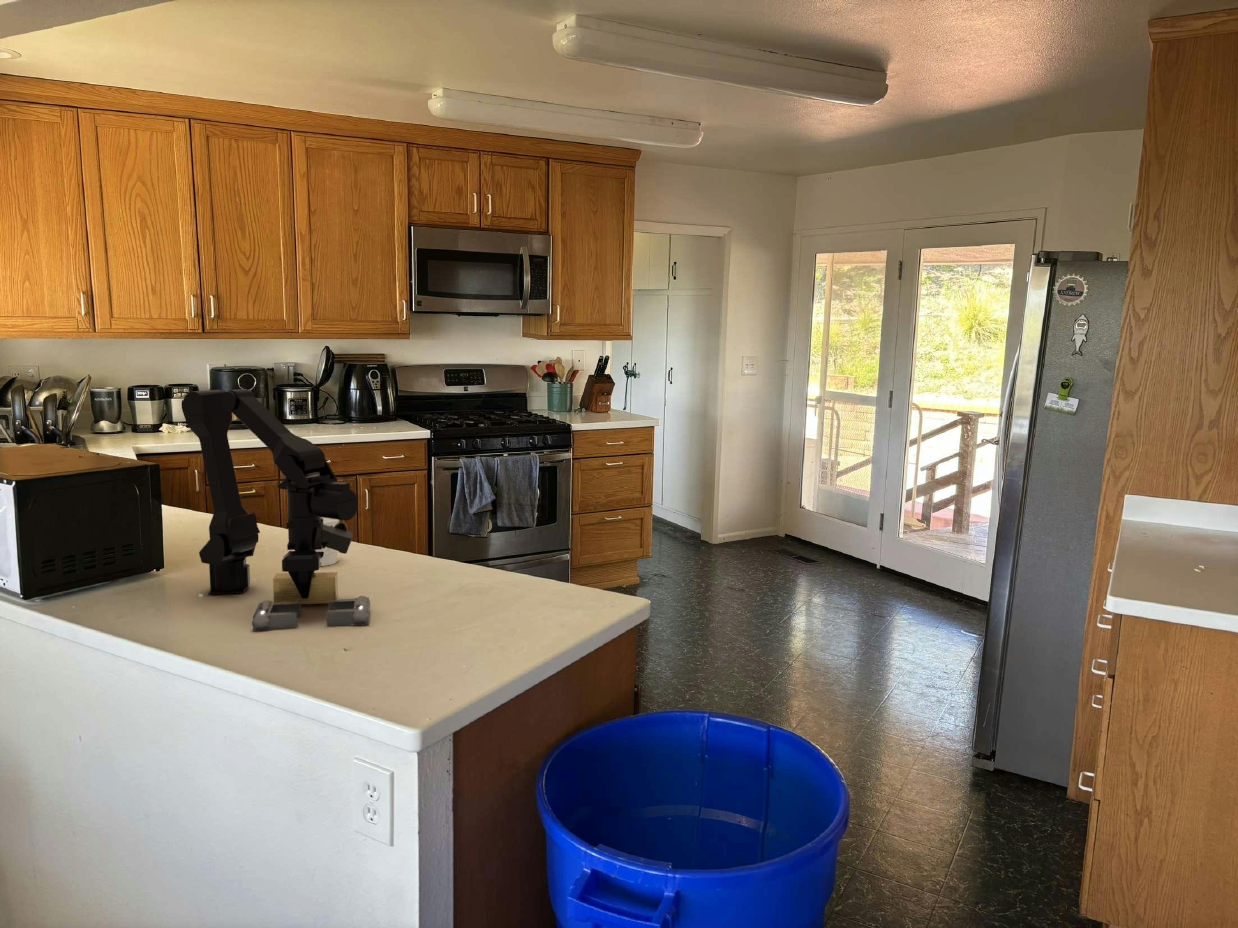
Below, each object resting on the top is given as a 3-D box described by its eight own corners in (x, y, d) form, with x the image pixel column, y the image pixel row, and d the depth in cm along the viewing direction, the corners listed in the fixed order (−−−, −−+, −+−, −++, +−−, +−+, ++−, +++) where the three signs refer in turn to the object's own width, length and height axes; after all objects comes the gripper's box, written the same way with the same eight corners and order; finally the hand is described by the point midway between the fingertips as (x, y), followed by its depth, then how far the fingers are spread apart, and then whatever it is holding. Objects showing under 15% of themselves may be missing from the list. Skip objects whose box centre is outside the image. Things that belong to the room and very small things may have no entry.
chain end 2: (370, 609, 162) (369, 595, 161) (368, 624, 154) (368, 609, 153) (329, 611, 160) (329, 597, 159) (326, 627, 152) (326, 612, 151)
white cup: (301, 559, 194) (299, 515, 192) (337, 556, 197) (336, 513, 196) (304, 568, 187) (303, 523, 185) (342, 565, 190) (341, 521, 189)
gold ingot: (273, 604, 160) (273, 578, 160) (277, 598, 164) (276, 573, 163) (335, 602, 163) (335, 577, 162) (337, 597, 166) (337, 572, 165)
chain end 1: (252, 631, 149) (251, 615, 148) (259, 615, 157) (258, 600, 156) (296, 628, 151) (295, 613, 150) (301, 613, 159) (300, 598, 158)
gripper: (347, 524, 154) (348, 608, 156) (351, 503, 172) (353, 579, 174) (280, 526, 151) (282, 612, 153) (292, 504, 169) (294, 581, 171)
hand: (306, 595), depth 163 cm, fingers closed on gold ingot, 3 cm apart
